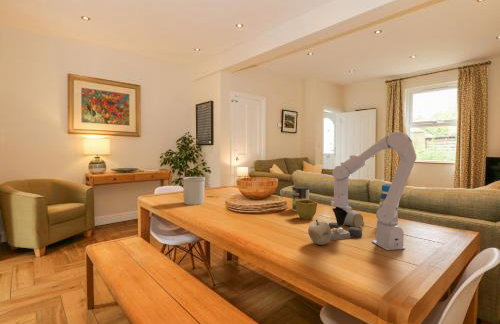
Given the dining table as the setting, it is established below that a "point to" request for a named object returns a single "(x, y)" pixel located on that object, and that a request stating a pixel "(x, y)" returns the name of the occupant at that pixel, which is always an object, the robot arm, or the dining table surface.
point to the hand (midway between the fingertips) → (340, 225)
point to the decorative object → (320, 232)
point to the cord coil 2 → (355, 232)
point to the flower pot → (306, 208)
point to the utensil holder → (193, 190)
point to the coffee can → (299, 195)
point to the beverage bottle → (383, 196)
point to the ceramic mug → (354, 219)
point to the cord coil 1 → (334, 225)
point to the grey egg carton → (339, 234)
